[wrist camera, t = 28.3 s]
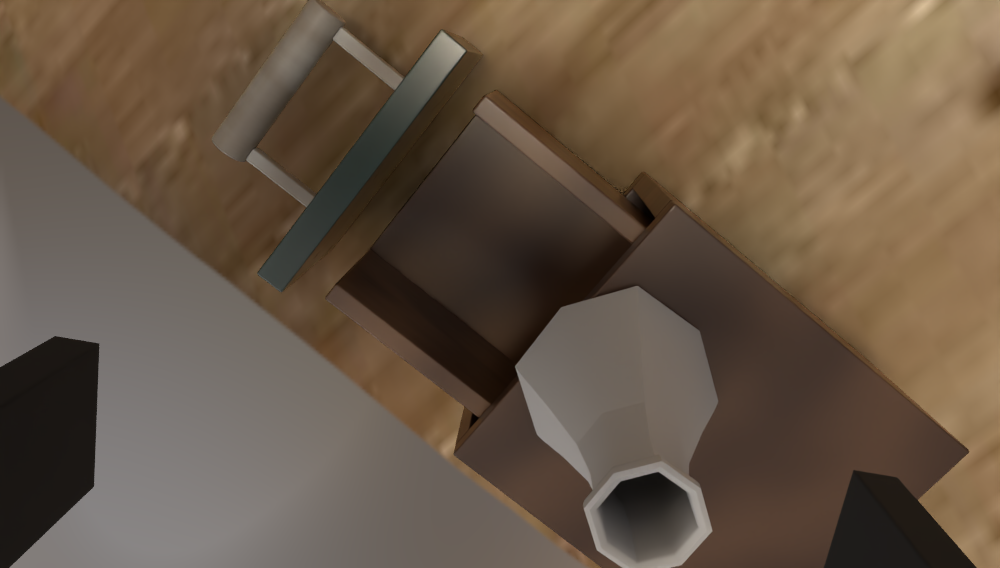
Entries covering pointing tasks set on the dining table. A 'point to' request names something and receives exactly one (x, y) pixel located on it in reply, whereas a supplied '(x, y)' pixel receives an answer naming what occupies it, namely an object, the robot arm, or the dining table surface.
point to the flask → (626, 420)
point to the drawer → (440, 214)
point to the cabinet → (734, 409)
